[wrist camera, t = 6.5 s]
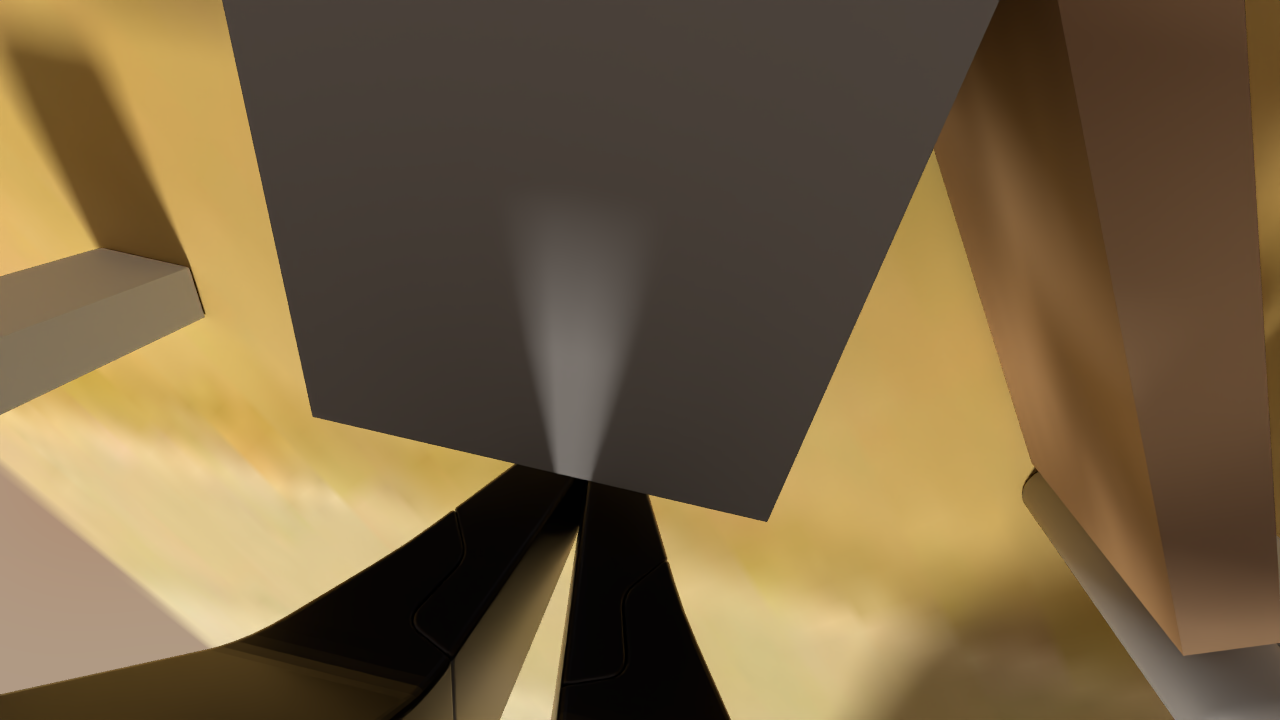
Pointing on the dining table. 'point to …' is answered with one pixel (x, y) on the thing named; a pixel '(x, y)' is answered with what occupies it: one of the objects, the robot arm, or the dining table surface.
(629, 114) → the doorstop
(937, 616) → the dining table surface
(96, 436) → the dining table surface
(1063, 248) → the door
